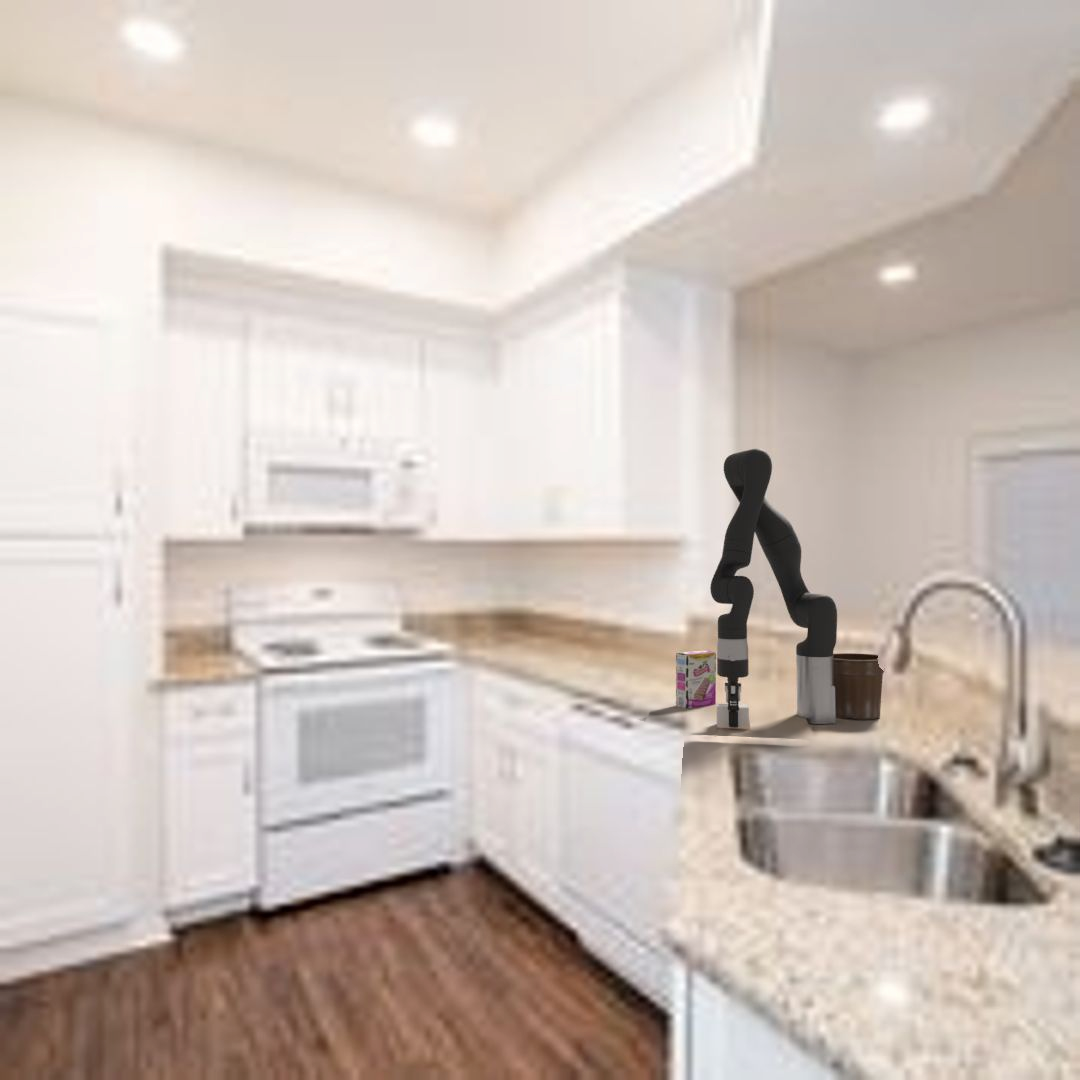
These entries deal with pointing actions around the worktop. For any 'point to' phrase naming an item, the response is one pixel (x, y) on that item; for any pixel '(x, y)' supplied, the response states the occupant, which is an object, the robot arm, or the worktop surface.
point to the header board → (736, 728)
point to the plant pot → (857, 686)
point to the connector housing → (724, 716)
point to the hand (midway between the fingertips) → (733, 723)
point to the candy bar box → (695, 679)
